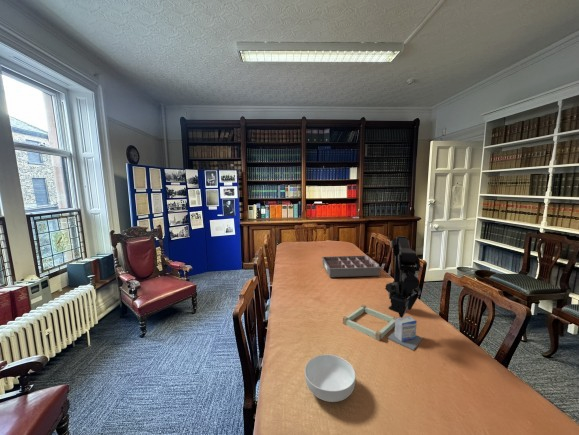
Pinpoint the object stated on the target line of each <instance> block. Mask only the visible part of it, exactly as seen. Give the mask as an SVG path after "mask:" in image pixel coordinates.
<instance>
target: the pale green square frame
mask: <svg viewBox="0 0 579 435" xmlns="http://www.w3.org/2000/svg"><path fill="white" fill-rule="evenodd" d="M364 313H365V314H368V315H371V316H373V317H375V318H378V319H380V320H383V321H384V322H388V323H387V324H386V325H385V326H383V327H382V328H381V329H380V330H377V331H375V330H372V329H371V328H368V327H366V326H364V325H363V324H362V325H361V324H359V323H357V322H355V321H354V320H355V319H357V318H358V317H359V316H360V315H362V314H364ZM398 318H399V317H398V316H390V315H388V314H385V313H382V312H380V311H378V310H376V309H372V308H369V307H367V305H365V304H361V305H360V307H359V308H358V309H356V310H354V311H353V312H351V313H350V314H348V315H347V316H343V317H342V324H343V325H345V326H347V327H349V328H352V329H354V330H356V331H358V332H360V333H362V334H364V335H366V336H369V337H370V338H372V339H375V340H376V341H378V342H380V341H381V340H382V339H383V338H384V337H385V336H386V335H387V334H388V333H389V332H391V331H392V329H393V328H395V319H398Z"/></svg>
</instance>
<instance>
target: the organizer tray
mask: <svg viewBox="0 0 579 435" xmlns="http://www.w3.org/2000/svg"><path fill="white" fill-rule="evenodd" d="M321 258H322V266H323V267H324V269H325V271H326V273H327V274H328V276H329V277H330V278H342V277H343V278H344V277H346V278H347V277H348V278H351V277H375V276H376V277H377V276H379V277H380V276H381V268H382V266H380V264H379V263H378V262H376V261H375V260H373V258H371V257H370V256H368V255H367V254H366V253H364V255H342V256H341V255H339V256H338V255H337V256H321Z"/></svg>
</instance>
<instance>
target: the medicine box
mask: <svg viewBox="0 0 579 435" xmlns="http://www.w3.org/2000/svg"><path fill="white" fill-rule="evenodd" d="M397 318H398V319H395V326H394V331H395V337H396V338H398V339H399V340H400V341H401V342H403V341H407V340H411V339H415V338H416V335H417V320H416V319H414V317H412V316H410V315H409V316H403V317H402V318H401V317H397Z"/></svg>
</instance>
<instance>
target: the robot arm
mask: <svg viewBox="0 0 579 435" xmlns="http://www.w3.org/2000/svg"><path fill="white" fill-rule="evenodd" d="M408 238H409V237H408V236H407V235H406V236H404V235H403V236H402V235H398V236H396V237H394V238H393V239H391V241H390V248H391V251H392V253H393V254H394V269H393V270H394V271H393V281H392V282H388V283H386V285H385V288H384V289H385V290H386V292H387V293H388V300H390V306H389V307H388V309H389V310H392V311H394V312H396V313H398V316H399V318H403V317H405V313H406V311H407V310H410V311H411V310H412V308H413V306H414V305H415V303H416V302H417V300H418V299H419V297H420V295H421V293H422V291H421V288H420V280H419V278H418V276H417V273H416V272H420V269H421V267H422V266H421V261H420V257H419V256H418V254H417V252H416V251H415V250H414V249H411V246H410V240H409V239H408Z"/></svg>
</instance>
